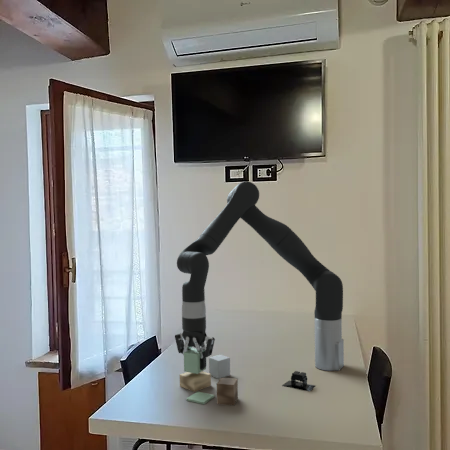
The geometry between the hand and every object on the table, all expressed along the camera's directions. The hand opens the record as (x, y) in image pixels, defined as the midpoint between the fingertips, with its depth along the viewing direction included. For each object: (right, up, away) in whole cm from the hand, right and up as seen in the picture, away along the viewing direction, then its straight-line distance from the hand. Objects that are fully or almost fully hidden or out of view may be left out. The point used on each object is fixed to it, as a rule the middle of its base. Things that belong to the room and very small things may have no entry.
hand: (195, 367), depth 155 cm
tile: (+2, -6, -10) cm, 12 cm away
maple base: (0, -6, 0) cm, 6 cm away
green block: (0, -1, 0) cm, 1 cm away
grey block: (+8, -5, +10) cm, 14 cm away
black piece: (+33, -6, -1) cm, 33 cm away
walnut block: (+10, -6, -12) cm, 17 cm away
